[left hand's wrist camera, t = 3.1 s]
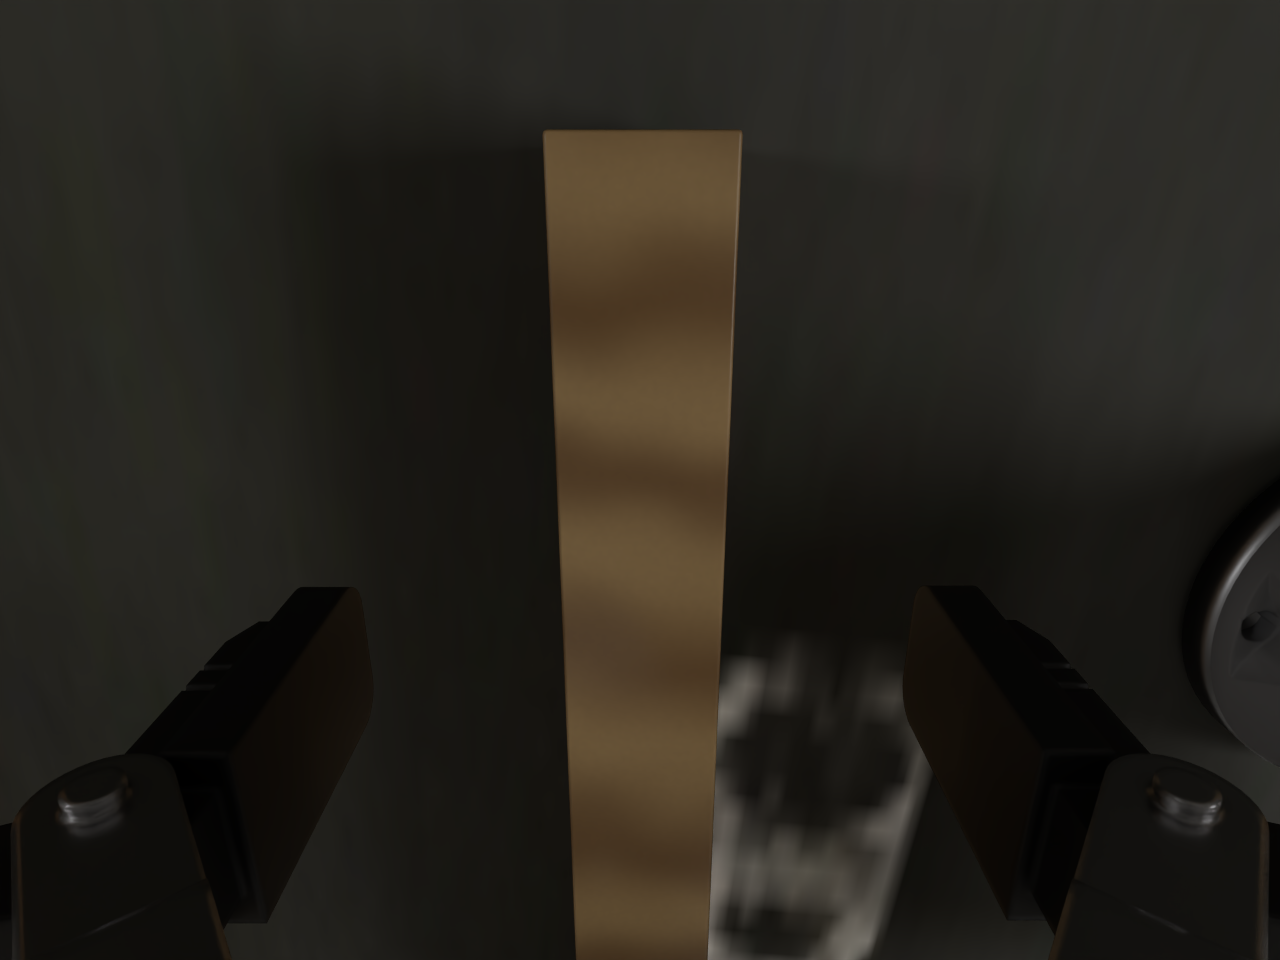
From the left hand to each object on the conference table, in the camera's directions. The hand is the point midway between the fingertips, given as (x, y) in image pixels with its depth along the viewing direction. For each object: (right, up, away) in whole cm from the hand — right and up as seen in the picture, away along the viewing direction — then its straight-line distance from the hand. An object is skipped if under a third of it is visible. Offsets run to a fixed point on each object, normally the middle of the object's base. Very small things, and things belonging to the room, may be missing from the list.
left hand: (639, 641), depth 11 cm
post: (0, -11, +24) cm, 26 cm away
